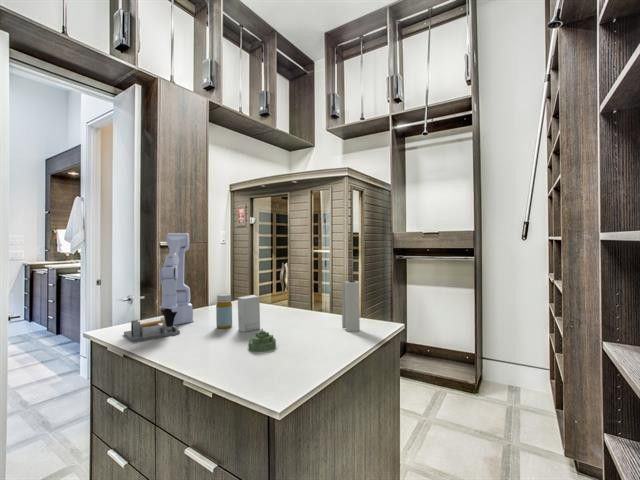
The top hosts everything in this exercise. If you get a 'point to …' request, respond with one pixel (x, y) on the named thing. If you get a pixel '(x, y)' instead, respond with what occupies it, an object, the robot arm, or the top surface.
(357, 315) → the tall grey block
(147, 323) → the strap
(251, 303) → the skincare box
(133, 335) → the grey workpiece holding fixture
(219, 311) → the bottle
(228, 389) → the top surface
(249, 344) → the decorative artifact
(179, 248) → the robot arm
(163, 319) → the clip
